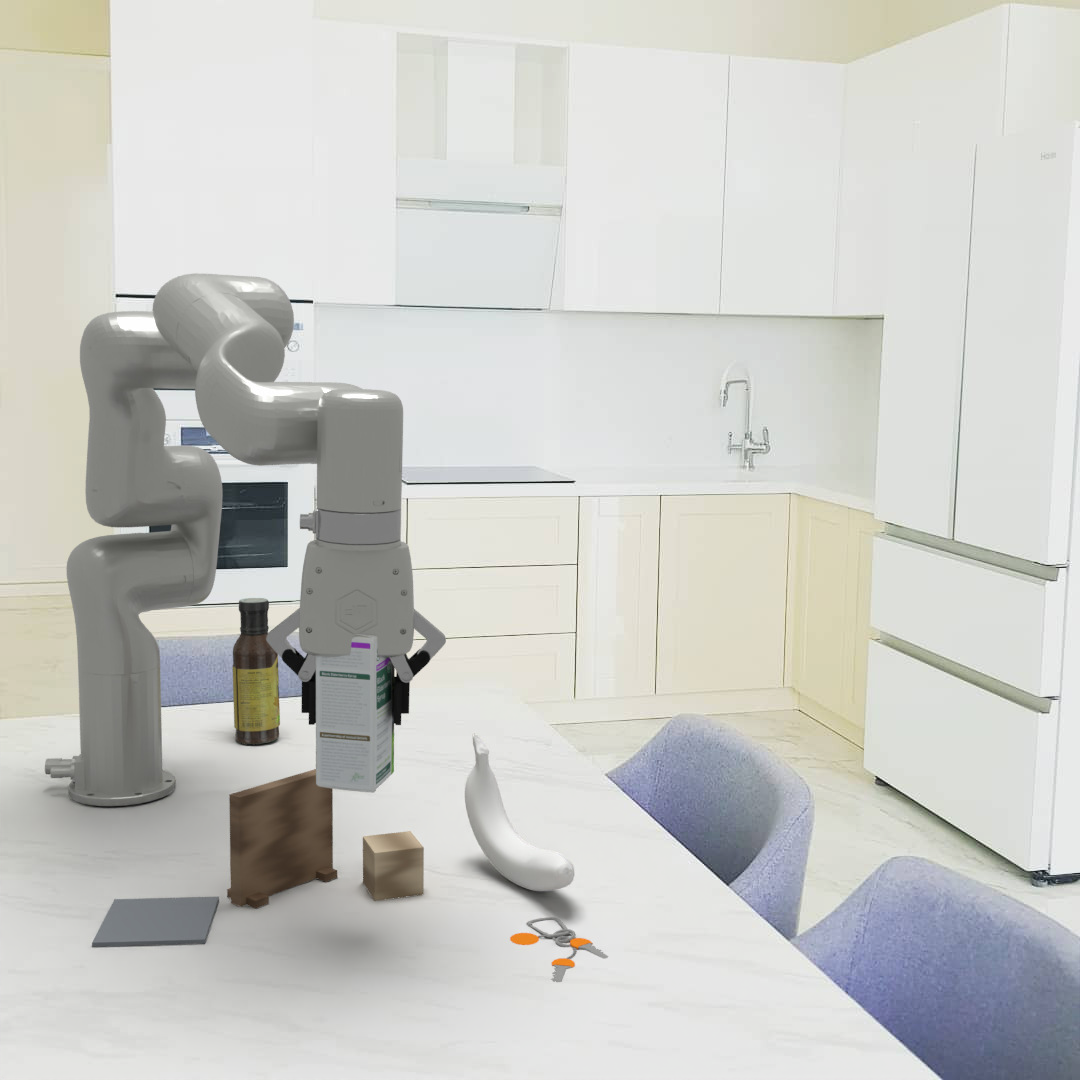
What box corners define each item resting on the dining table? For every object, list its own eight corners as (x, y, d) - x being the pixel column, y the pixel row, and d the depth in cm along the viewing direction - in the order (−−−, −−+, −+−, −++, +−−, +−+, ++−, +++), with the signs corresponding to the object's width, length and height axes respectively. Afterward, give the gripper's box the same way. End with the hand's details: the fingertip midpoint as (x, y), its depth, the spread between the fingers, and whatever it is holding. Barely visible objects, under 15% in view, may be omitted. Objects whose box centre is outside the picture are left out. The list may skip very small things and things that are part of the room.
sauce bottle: (288, 740, 189) (287, 600, 187) (249, 749, 185) (248, 605, 182) (263, 731, 194) (261, 594, 191) (224, 739, 189) (222, 599, 187)
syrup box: (375, 794, 121) (378, 636, 119) (312, 787, 123) (315, 630, 120) (394, 774, 127) (398, 622, 125) (334, 767, 128) (337, 617, 126)
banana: (559, 922, 130) (561, 774, 128) (449, 862, 145) (450, 728, 143) (598, 910, 132) (601, 765, 131) (487, 852, 147) (488, 721, 146)
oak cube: (374, 901, 134) (374, 853, 133) (362, 883, 139) (362, 836, 138) (423, 895, 136) (423, 847, 135) (410, 877, 140) (410, 831, 140)
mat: (92, 946, 122) (91, 942, 122) (114, 903, 132) (114, 899, 132) (205, 943, 124) (204, 939, 123) (219, 900, 133) (219, 896, 133)
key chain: (494, 930, 128) (494, 921, 128) (564, 918, 131) (564, 910, 131) (550, 987, 117) (550, 978, 117) (625, 973, 120) (625, 964, 120)
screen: (250, 910, 131) (248, 800, 130) (221, 899, 134) (219, 791, 132) (342, 875, 140) (342, 772, 139) (313, 865, 143) (313, 764, 142)
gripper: (255, 532, 116) (254, 732, 119) (457, 536, 118) (452, 733, 121) (263, 520, 124) (262, 708, 127) (454, 524, 126) (449, 709, 129)
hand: (355, 719), depth 124 cm, fingers closed on syrup box, 7 cm apart
